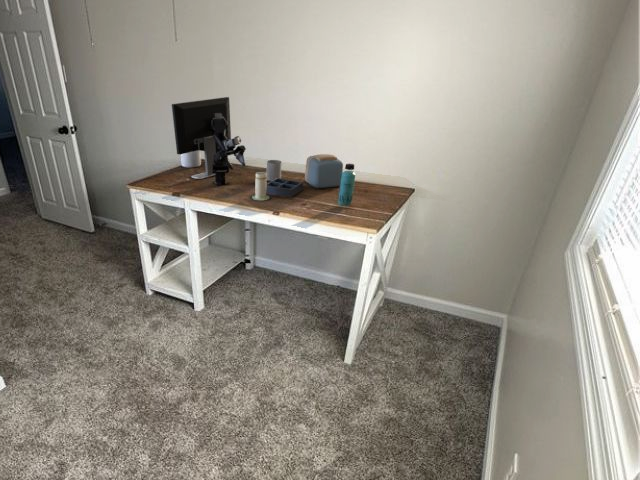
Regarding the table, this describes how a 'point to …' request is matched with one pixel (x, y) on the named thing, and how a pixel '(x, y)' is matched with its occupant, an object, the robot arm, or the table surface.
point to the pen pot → (260, 185)
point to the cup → (273, 169)
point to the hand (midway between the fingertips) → (238, 167)
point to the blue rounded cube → (323, 171)
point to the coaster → (261, 199)
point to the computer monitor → (199, 128)
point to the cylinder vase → (191, 159)
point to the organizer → (284, 187)
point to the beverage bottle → (347, 186)
